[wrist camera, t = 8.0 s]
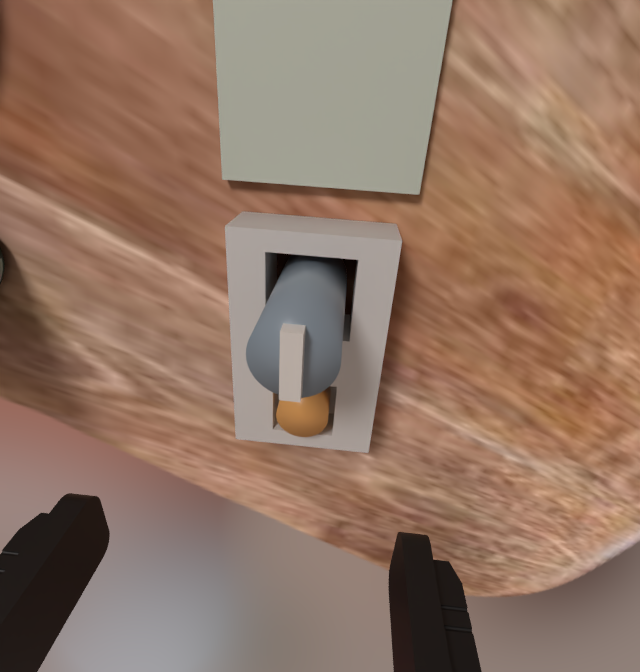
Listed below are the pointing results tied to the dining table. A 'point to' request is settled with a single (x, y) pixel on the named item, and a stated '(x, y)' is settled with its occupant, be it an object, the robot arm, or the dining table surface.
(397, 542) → the robot arm
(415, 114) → the pad
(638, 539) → the dining table surface
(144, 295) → the dining table surface
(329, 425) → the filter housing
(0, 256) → the coffee jar
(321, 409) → the orange rounded piece
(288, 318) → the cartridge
